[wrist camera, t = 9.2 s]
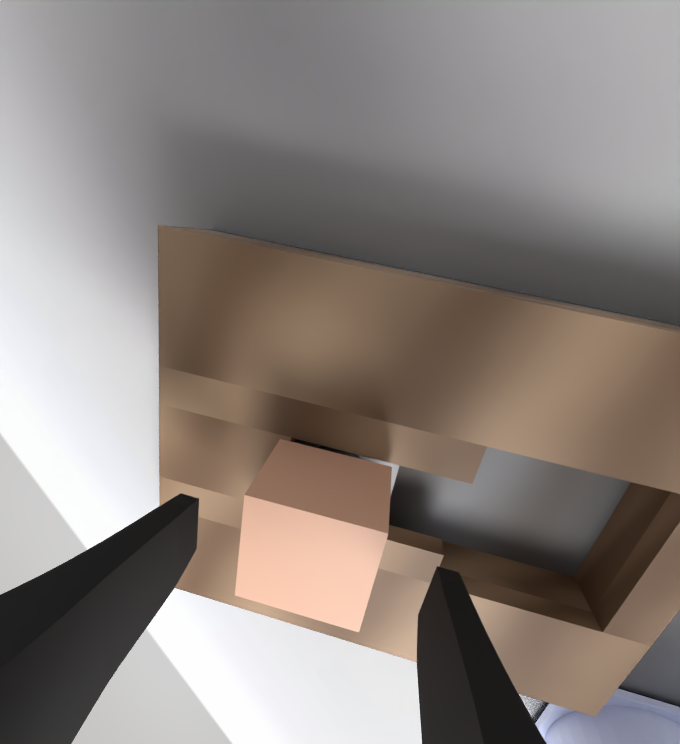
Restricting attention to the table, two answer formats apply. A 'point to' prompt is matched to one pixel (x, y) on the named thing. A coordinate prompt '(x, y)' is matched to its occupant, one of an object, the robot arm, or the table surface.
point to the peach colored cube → (315, 532)
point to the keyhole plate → (436, 445)
